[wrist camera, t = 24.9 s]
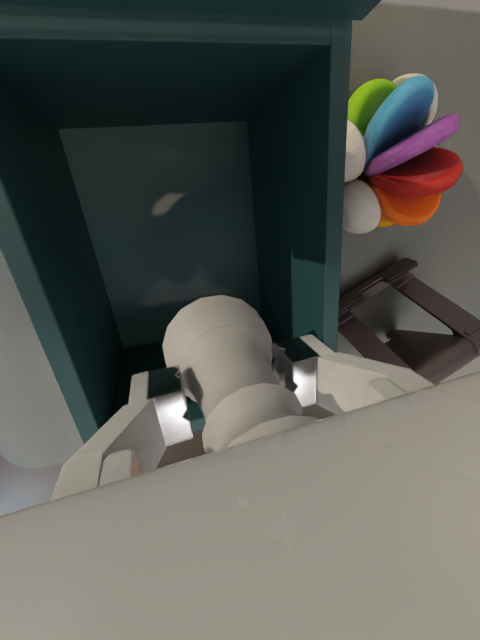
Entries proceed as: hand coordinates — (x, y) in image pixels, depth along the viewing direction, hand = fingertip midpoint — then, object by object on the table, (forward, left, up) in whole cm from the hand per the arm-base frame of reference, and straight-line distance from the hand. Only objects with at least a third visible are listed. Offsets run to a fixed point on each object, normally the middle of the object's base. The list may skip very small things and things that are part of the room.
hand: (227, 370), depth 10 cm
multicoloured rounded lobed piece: (-16, +5, -13) cm, 21 cm away
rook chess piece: (0, 0, -3) cm, 3 cm away
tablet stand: (-9, +16, -13) cm, 22 cm away
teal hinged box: (-2, -2, -13) cm, 13 cm away
